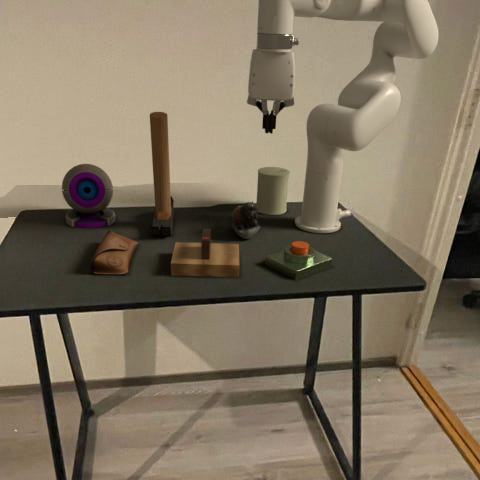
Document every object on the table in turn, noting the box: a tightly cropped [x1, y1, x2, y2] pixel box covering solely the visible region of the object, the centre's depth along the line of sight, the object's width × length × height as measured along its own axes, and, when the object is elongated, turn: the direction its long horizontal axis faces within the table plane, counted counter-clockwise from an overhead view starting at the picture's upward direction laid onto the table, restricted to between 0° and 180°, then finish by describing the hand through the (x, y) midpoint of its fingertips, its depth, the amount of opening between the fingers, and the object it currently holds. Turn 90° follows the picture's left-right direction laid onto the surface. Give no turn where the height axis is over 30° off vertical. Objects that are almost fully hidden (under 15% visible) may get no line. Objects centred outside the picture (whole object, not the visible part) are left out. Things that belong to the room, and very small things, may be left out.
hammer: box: [149, 111, 175, 236], centre depth 134 cm, size 20×5×30 cm, turn 4°
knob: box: [201, 228, 212, 259], centre depth 121 cm, size 7×2×5 cm, turn 1°
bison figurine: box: [232, 201, 261, 240], centre depth 138 cm, size 12×7×10 cm, turn 12°
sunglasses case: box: [89, 229, 140, 276], centre depth 124 cm, size 18×7×7 cm
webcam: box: [61, 163, 116, 229], centre depth 142 cm, size 13×13×15 cm
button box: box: [264, 244, 333, 280], centre depth 124 cm, size 12×10×4 cm
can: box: [255, 166, 290, 216], centre depth 156 cm, size 9×9×12 cm
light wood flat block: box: [170, 241, 240, 278], centre depth 123 cm, size 15×12×3 cm
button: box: [291, 240, 310, 254], centre depth 123 cm, size 4×4×2 cm
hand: (268, 132), depth 124 cm, fingers closed
